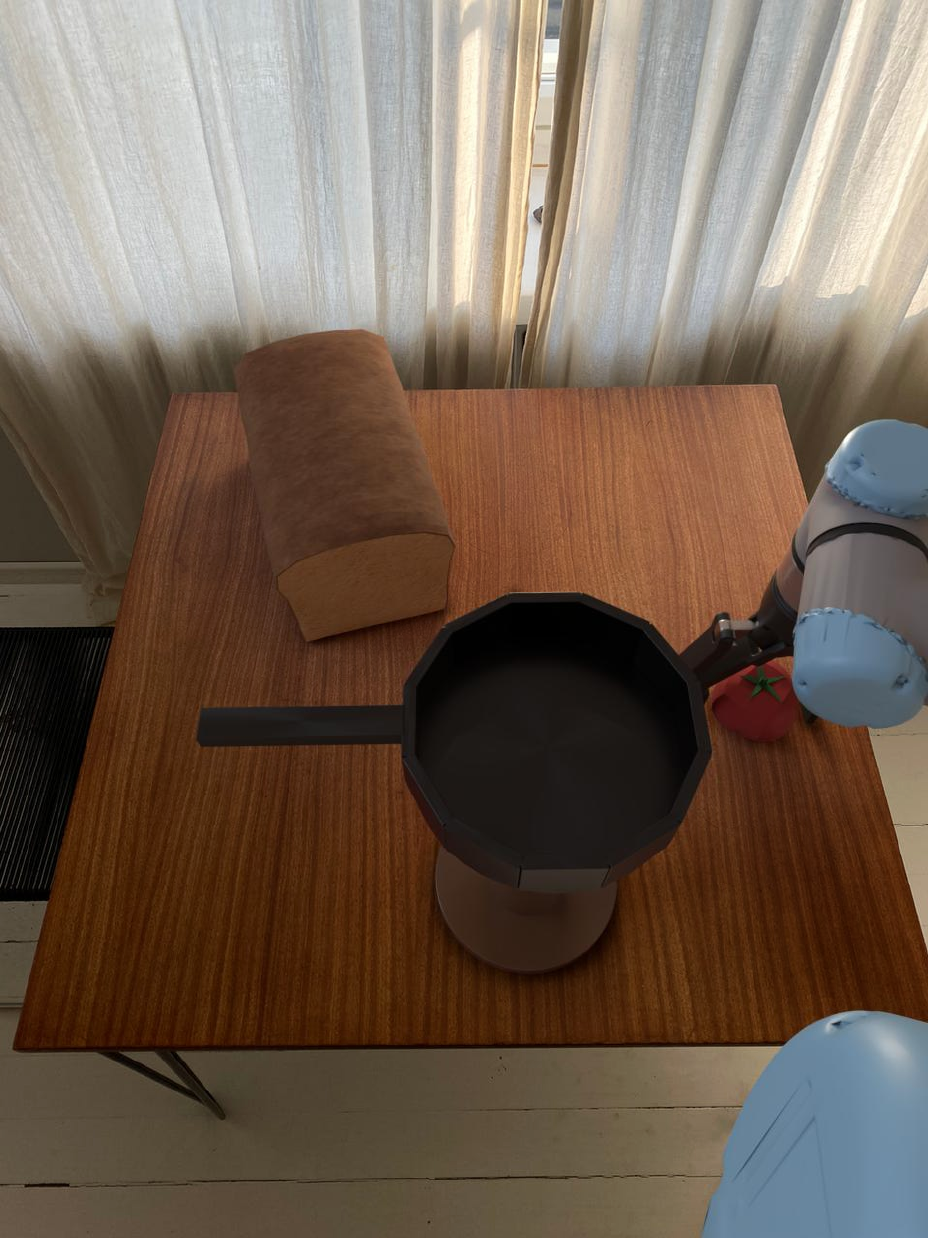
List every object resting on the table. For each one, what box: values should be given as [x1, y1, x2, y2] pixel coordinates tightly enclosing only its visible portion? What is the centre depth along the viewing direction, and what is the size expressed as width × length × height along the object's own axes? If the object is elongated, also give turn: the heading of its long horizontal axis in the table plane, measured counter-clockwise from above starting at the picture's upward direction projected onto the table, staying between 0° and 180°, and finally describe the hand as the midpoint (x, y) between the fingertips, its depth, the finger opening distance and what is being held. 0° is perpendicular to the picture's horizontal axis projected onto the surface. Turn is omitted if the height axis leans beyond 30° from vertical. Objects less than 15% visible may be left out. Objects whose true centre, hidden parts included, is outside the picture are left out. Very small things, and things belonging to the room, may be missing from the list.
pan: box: [195, 591, 713, 975], centre depth 64 cm, size 18×29×33 cm, turn 91°
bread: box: [233, 328, 456, 643], centre depth 93 cm, size 18×30×16 cm, turn 15°
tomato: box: [710, 660, 800, 743], centre depth 84 cm, size 8×8×7 cm
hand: (747, 711), depth 87 cm, fingers open, 11 cm apart
